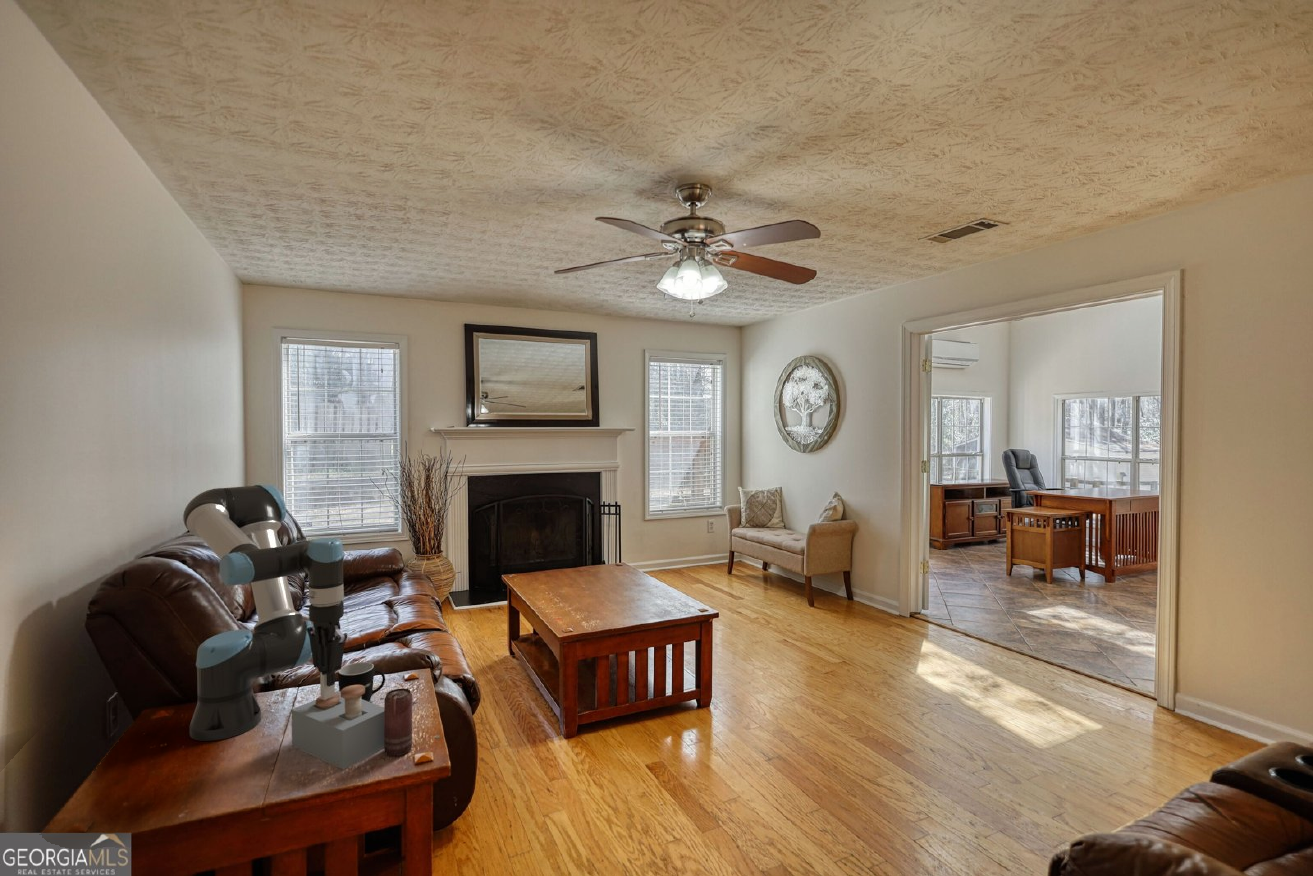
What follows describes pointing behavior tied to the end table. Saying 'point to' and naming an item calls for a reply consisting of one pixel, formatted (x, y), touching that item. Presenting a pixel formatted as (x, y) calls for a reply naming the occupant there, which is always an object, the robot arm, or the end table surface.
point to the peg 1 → (327, 702)
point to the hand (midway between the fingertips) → (327, 697)
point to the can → (398, 722)
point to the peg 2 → (353, 701)
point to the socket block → (338, 732)
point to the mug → (359, 677)
